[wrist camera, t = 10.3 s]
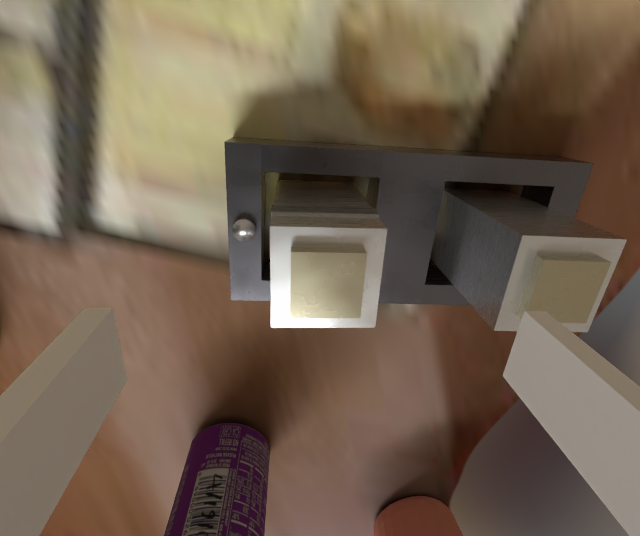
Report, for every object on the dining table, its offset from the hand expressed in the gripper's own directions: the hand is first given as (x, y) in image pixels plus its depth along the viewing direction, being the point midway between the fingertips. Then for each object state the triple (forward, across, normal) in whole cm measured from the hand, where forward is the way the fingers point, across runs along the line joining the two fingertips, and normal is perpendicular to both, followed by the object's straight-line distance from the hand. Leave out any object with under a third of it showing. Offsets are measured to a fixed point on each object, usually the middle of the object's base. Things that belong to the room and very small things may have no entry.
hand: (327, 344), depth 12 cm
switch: (+15, +6, 0) cm, 16 cm away
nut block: (+15, +1, 0) cm, 15 cm away
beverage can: (+15, -6, -22) cm, 27 cm away
